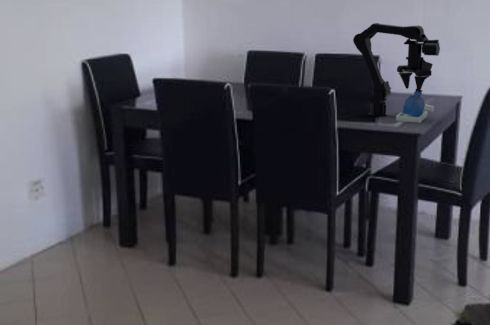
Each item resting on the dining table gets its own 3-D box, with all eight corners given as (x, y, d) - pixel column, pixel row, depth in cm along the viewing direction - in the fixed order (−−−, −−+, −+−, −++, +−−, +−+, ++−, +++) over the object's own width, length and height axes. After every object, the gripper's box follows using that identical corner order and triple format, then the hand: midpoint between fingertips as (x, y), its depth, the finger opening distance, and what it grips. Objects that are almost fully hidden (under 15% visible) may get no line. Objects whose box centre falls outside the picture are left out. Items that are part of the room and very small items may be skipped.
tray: (420, 122, 285) (420, 117, 285) (395, 120, 290) (396, 115, 289) (427, 116, 299) (427, 111, 299) (404, 114, 304) (404, 109, 303)
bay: (414, 113, 306) (414, 108, 305) (403, 110, 314) (403, 105, 313) (433, 111, 309) (434, 106, 308) (422, 108, 317) (422, 103, 317)
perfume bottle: (402, 112, 296) (409, 87, 294) (413, 115, 298) (420, 89, 296) (409, 115, 290) (417, 88, 288) (421, 117, 293) (428, 91, 291)
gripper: (443, 55, 282) (440, 91, 286) (418, 52, 299) (416, 86, 303) (420, 57, 278) (419, 93, 282) (397, 53, 295) (395, 87, 299)
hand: (412, 89), depth 292 cm, fingers open, 9 cm apart
